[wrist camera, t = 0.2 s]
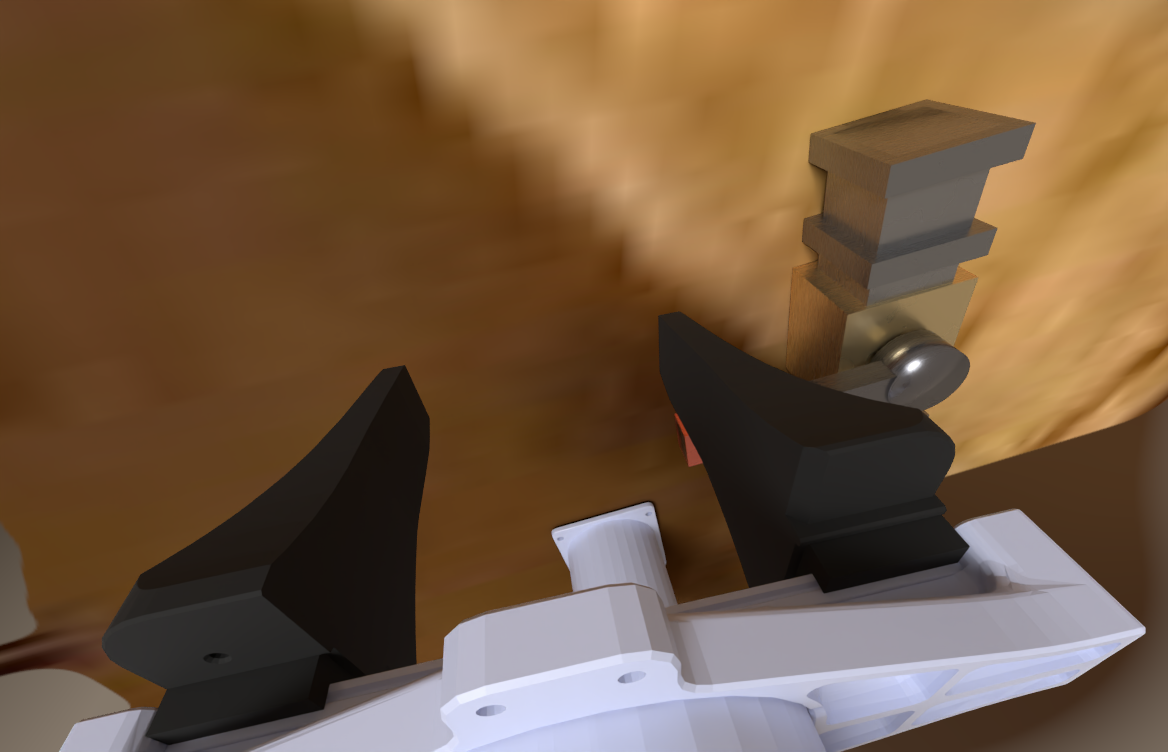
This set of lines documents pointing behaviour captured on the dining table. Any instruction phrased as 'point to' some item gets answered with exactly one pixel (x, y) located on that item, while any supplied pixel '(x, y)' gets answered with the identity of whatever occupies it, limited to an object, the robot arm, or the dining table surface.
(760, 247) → the dining table surface
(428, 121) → the dining table surface
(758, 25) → the dining table surface
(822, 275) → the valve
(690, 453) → the lever
